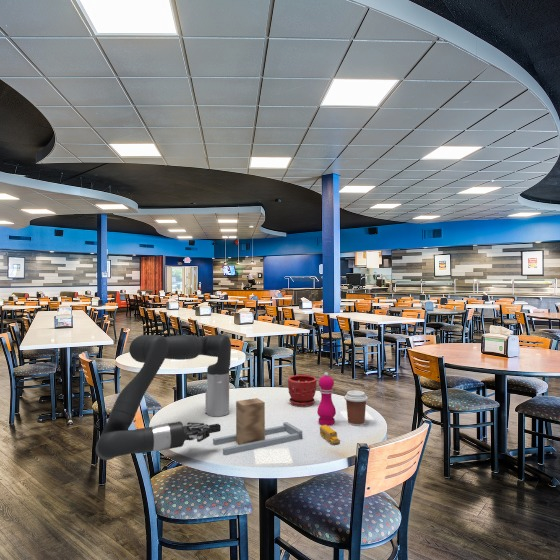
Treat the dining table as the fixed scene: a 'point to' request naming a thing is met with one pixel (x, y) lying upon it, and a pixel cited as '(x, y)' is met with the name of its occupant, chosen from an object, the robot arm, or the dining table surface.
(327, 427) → the toy bus
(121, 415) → the robot arm
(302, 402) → the plant pot
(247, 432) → the walnut block
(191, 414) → the dining table surface
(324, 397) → the pepper mill
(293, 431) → the trap channel
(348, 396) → the coffee cup
